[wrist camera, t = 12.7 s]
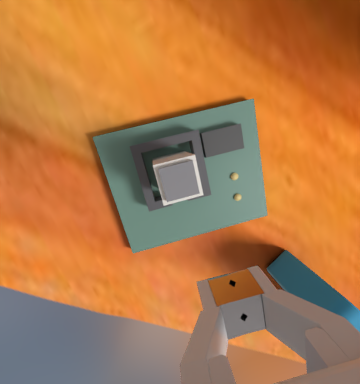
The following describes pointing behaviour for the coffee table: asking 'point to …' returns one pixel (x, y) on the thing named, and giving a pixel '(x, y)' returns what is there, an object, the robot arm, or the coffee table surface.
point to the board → (207, 166)
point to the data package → (311, 287)
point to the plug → (177, 177)
